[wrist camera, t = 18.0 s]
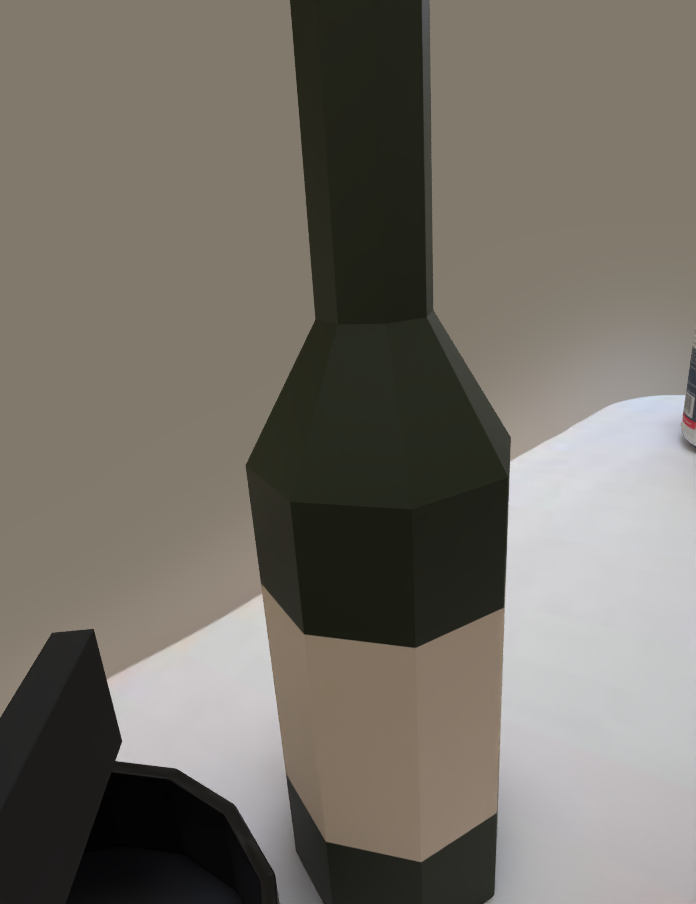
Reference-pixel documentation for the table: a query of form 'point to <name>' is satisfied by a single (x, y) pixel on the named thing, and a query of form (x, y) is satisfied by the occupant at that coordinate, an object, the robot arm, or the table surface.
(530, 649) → the table surface
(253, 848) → the frying pan
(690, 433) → the supplement tub
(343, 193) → the wine bottle
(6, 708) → the robot arm
